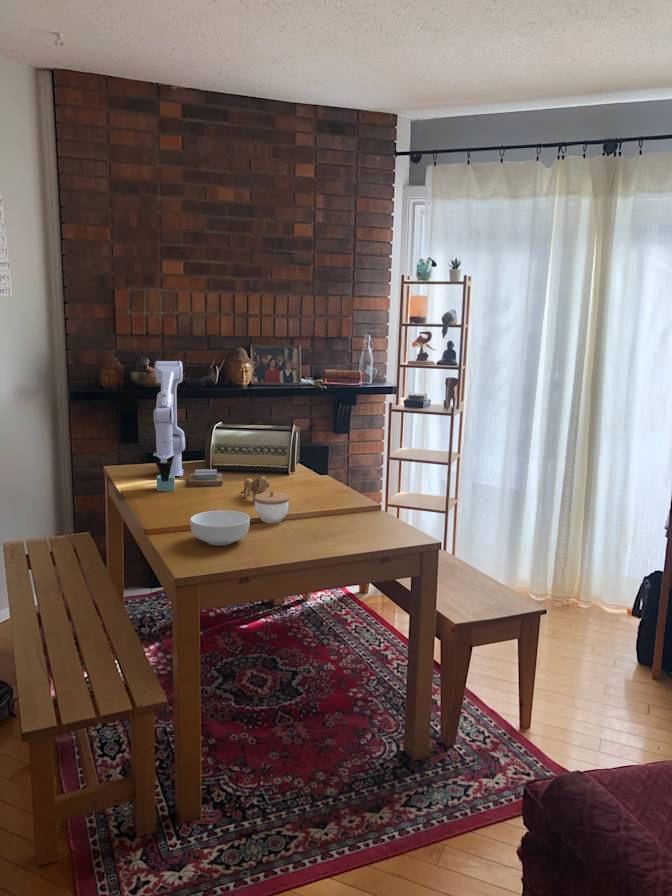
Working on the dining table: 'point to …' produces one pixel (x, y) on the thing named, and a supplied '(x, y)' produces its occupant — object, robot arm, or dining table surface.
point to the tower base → (206, 482)
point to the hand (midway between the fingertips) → (165, 478)
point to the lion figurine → (255, 486)
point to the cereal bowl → (220, 526)
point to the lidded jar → (271, 506)
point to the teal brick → (166, 483)
